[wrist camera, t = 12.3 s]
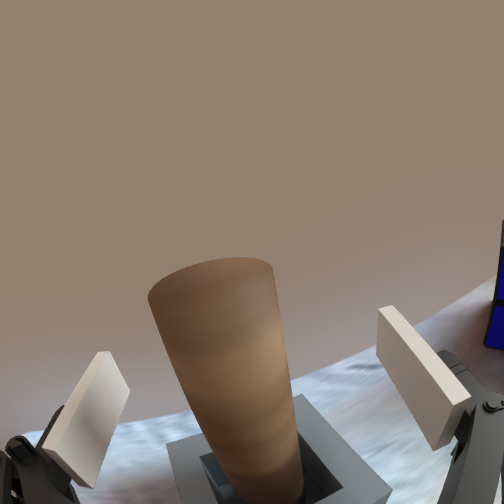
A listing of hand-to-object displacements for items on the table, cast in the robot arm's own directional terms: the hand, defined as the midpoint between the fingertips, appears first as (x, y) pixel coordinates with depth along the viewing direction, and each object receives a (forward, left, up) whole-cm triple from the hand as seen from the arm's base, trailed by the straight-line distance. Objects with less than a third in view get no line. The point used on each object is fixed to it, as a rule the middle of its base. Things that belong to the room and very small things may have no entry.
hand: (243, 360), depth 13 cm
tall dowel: (-3, +1, -9) cm, 10 cm away
